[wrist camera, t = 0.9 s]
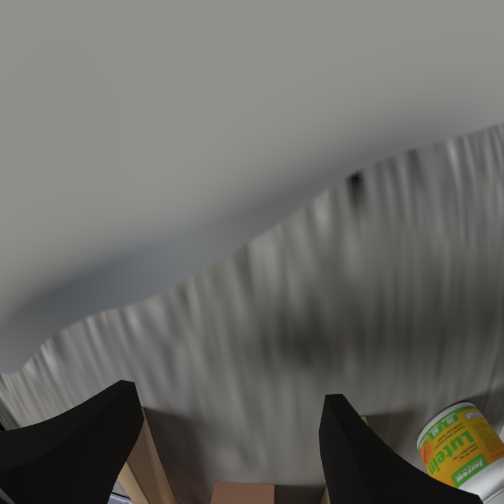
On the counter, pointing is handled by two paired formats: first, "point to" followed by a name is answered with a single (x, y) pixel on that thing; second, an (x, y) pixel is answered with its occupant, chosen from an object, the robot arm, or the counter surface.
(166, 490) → the wooden u-shaped frame
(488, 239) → the counter surface
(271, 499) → the block
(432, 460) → the supplement bottle
